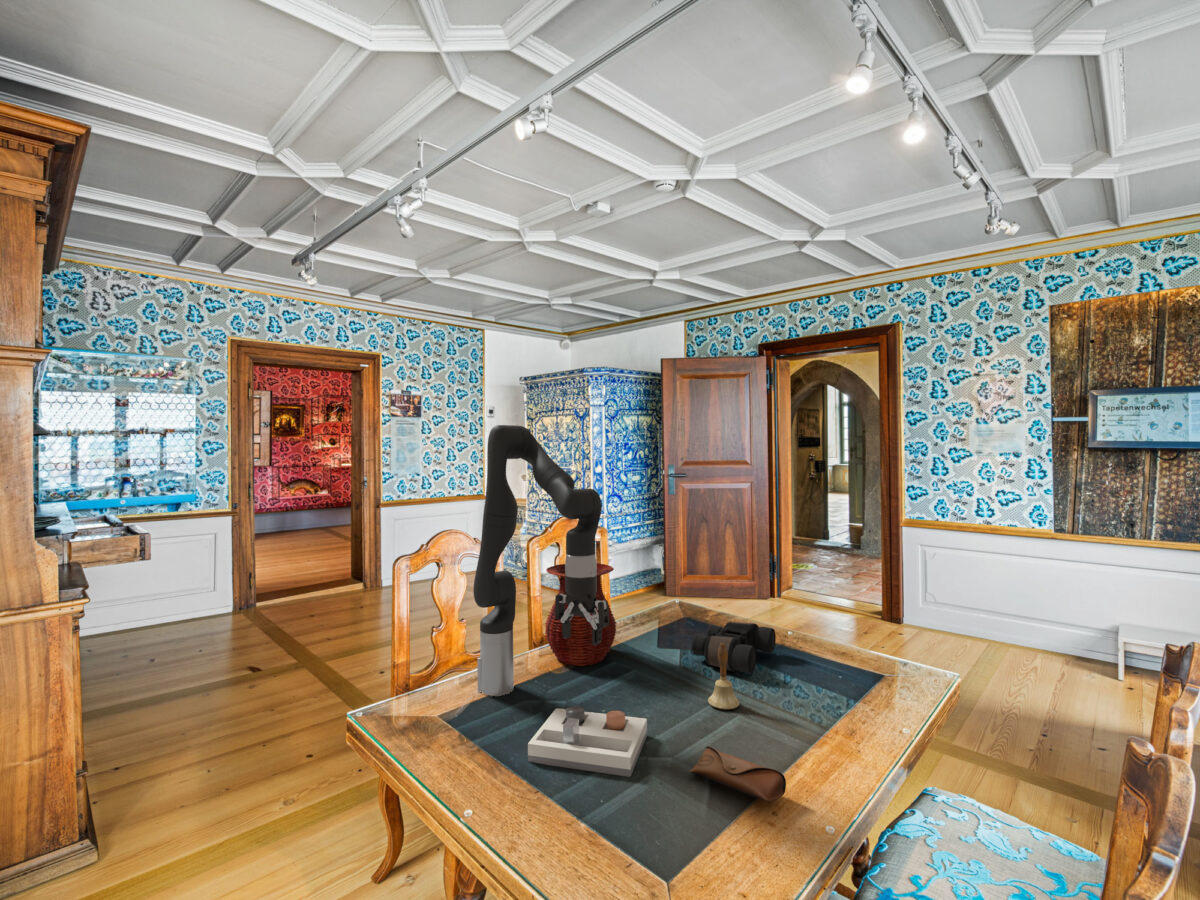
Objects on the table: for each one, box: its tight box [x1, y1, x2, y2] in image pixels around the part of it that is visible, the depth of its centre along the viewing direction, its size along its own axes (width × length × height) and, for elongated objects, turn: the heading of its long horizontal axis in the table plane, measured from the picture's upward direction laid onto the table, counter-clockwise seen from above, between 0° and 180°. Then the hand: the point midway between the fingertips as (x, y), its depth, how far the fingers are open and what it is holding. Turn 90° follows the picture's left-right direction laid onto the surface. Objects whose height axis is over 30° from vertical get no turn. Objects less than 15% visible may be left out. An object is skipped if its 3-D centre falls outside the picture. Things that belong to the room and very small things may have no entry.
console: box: [527, 708, 648, 778], centre depth 130 cm, size 23×18×4 cm
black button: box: [565, 705, 585, 725], centre depth 136 cm, size 4×4×3 cm
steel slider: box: [563, 718, 579, 745], centre depth 126 cm, size 2×4×6 cm, turn 164°
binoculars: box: [691, 621, 777, 674], centre depth 185 cm, size 29×20×10 cm
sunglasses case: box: [688, 746, 787, 803], centre depth 115 cm, size 18×7×7 cm
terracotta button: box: [605, 710, 626, 730], centre depth 133 cm, size 4×4×3 cm
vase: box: [544, 562, 618, 667], centre depth 186 cm, size 23×24×30 cm
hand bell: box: [707, 643, 740, 710], centre depth 153 cm, size 8×8×16 cm
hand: (581, 641), depth 135 cm, fingers open, 8 cm apart
